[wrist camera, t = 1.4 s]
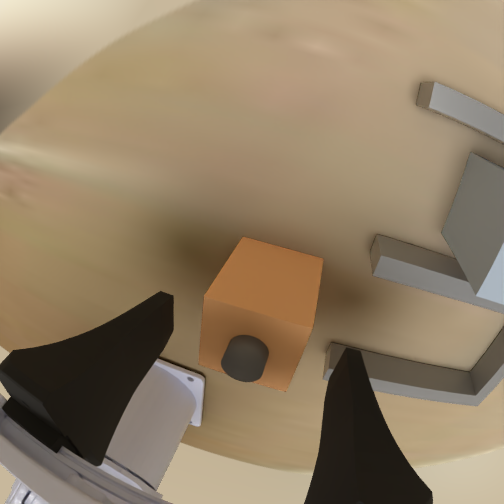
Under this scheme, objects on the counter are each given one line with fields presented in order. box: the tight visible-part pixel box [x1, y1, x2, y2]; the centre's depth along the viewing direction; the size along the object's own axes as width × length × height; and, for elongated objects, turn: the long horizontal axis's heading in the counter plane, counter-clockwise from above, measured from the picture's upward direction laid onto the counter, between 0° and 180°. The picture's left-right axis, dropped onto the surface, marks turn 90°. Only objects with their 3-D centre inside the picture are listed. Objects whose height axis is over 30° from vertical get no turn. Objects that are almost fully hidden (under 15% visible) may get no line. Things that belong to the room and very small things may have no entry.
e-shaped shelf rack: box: [323, 82, 504, 406], centre depth 12 cm, size 11×15×2 cm
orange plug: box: [199, 237, 323, 392], centre depth 14 cm, size 4×4×6 cm
